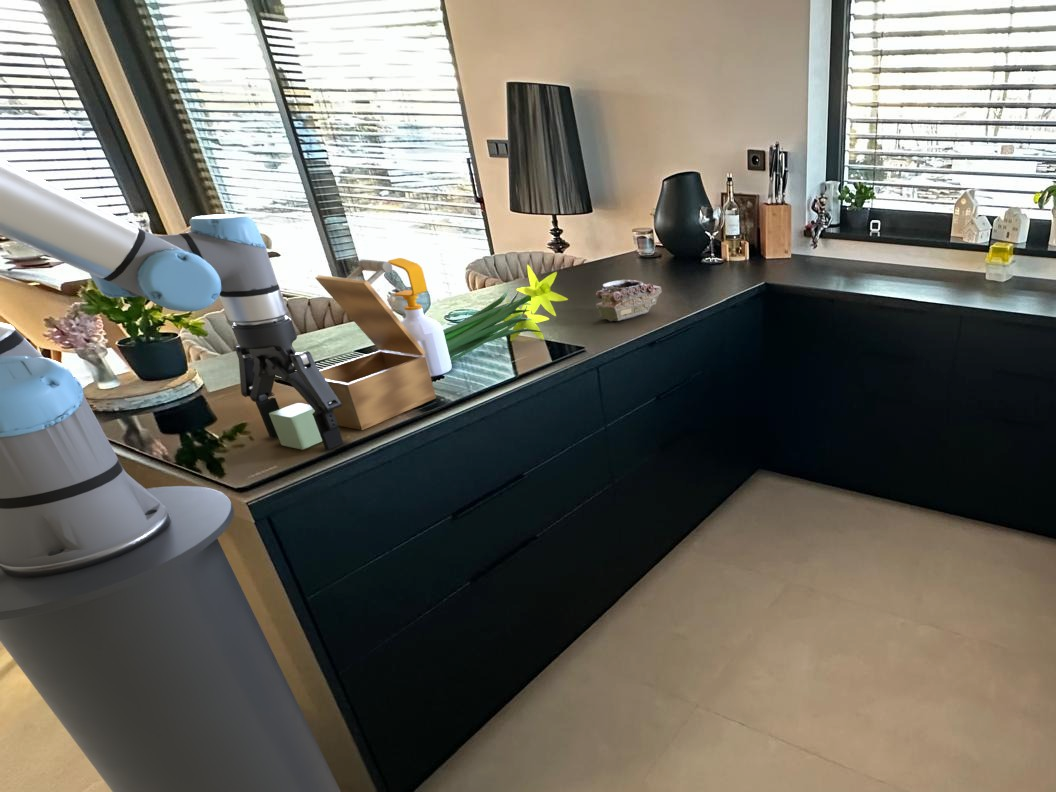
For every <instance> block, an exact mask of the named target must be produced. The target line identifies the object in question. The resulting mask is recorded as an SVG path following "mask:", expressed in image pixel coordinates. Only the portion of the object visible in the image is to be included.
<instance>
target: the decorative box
mask: <svg viewBox="0 0 1056 792" xmlns="http://www.w3.org/2000/svg"><path fill="white" fill-rule="evenodd" d="M662 293H663V290H662V286H658V285H655V284H653V283H648V284H646V283H644V282H643V281H641V280H638V279H618V280H613V281H608V282H605V283H603V284H602V289H601V290H597V291H595V298H596V299H598V300H601V302H598V303H596V304H595V306H596V309H597V311H598V313H599V316H600V318H601V319H603V320H608V321H609V322H613V321H615V322H619V321H623V320H629V319H632V318H635V317H638V316H641V315H644V314H648V313H649V310H650V309H651V307H652V306H656V304H657V302H658V301H657V300H658V298H659V296H660V294H662Z"/></svg>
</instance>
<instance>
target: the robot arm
mask: <svg viewBox="0 0 1056 792" xmlns="http://www.w3.org/2000/svg"><path fill="white" fill-rule="evenodd" d="M189 226H190V228H189V230H190V231H187V232H185V231H184V232H182V233H173V234H160V235H155V234H153V233H150V232H148V231H146V230H144V229H141V228H140V227H138V226H136V225H134V224H133V223H131V222H128V220H125V219H123V218H121V217H119V216H117V215H114V214H113V213H111V212H109V211H106V210H105V209H103V208H100V207H99V206H97V205H94V204H92V203H90V202H88V201H87V200H85V199H82V198H80V197H79V196H76V195H75V194H72V193H70V192H68V191H67V190H65V189H63V188H60V187H59V186H57V185H55V184H52V183H51V182H48V181H46V180H44V179H43V178H40V177H39V176H36V175H34V174H33V173H30V172H29V171H26V170H25V169H22V168H20V167H18V166H16V165H14V164H12V163H11V162H8V161H7V160H4V159H2V158H0V236H1V237H3V238H6V239H8V240H10V241H12V242H15V243H17V244H19V245H22V246H24V247H26V248H29V249H32V250H34V251H36V252H39V253H41V254H43V255H46V256H48V257H49V258H50V257H51V258H52V259H55V260H58V261H60V262H62V263H64V264H67V265H69V266H71V267H74V268H76V269H78V270H81V271H83V272H85V273H88V274H89V276H90V278H91V280H92V281H93V283H94V285H95V286H96V288H97V289H98V290H99V291H100V293H101V294H102V295H104V296H105V297H108V298H112V299H115V298H129V297H130V298H137V297H138V296H139V297H143V298H144V299H148V300H149V302H151V303H153V304H155V305H157V306H160V307H162V308H164V309H166V310H171V311H177V312H185V313H187V312H197V311H202V310H205V309H207V308H208V307H210V306H211V305H213V304H214V303H215V302H216V301H217V300H218V299H219V300H220V303H221V306H222V308H223V310H224V312H225V315H226V318H227V320H228V321H230V322H232V325H231V326H230V327H231V330H232V332H233V335H234V337H235V339H236V342H237V344H238V345H237V346H235V347H234V350H235V353H236V356H237V358H238V366H239V367H238V368H239V369H238V370H239V380H240V383H239V384H240V393H241V395H242V396H243V397H244V398H250V400H251V401H252V402H253V403H255V404H256V407H257V409H258V412H259V414H260V416H261V419H262V422H263V424H264V426H265V429H266V431H267V434H268V436H269V438H270V439H272V438H273V439H274V438H277V437H278V435H277V433H276V430H275V428H274V425H273V423H272V420H271V418H270V415H269V413H271V412H274V411H277V410H279V409H280V406H279V404H278V401H277V398H276V397H273V396H275V395H276V394H275V393H273V392H272V391H273V387H274V383H275V379H276V377H278V378H281V380H283V382H286V383H289V384H290V386H292V387H293V388H294V389H295V391H297V393H298V394H299V395H300V396H301V397H302V398H303V399H304V401H305V402H306V404H308V405H310V406H311V407H312V408H313V409H314V410H315V412H314V413H313V414H312V415H313V417H314V419H315V422H316V425H317V428H318V430H319V433H320V436H321V438H322V444H323V446H324V449H325V450H327V451H330V450H332V449H334V448H337V447H338V446H340V445H343V444H344V440H343V437H342V435H341V431H340V429H339V426H338V424H337V421H336V418H335V415H334V412H333V410H334V409H336V408H339V407H341V406H342V404H341V402H340V401H339V399H338V398H337V396H336V395H335V393H334V392H333V390H332V389H331V387H330V386H329V384H328V383H327V381H326V380H325V378H324V377H323V375H322V374H321V372H320V371H319V370H320V369H319V368H318V366H317V365H316V362H315V360H314V358H313V355H312V353H311V352H310V351H308V350H306V351H302V352H296V350H295V348H294V347H293V343H294V342H295V341H296V340H297V339H298V334H297V331H296V329H295V326H294V323H293V320H292V318H291V317H289V316H288V313H289V310H288V307H287V305H286V302H285V300H284V295H283V293H282V291H281V289H280V285H279V283H278V279H277V278H276V274H275V271H274V268H273V265H272V262H271V259H270V256H269V252H268V249H267V245H266V244H265V242H264V239H263V238H262V234H261V232H260V230H259V228H258V225H257V223H256V222H255V221H254V220H253V219H252V218H251V217H250V216H247V215H244V214H233V213H224V214H223V213H222V214H220V213H219V214H207V215H197V216H193V217H191V218H190V219H189ZM331 401H332V402H331ZM319 405H320V406H319ZM146 489H147V488H145V487H144V486H143V485H141V484H140V483H139V482H137V481H136V480H135V479H134V478H133V477H131V476H130V475H129V474H128V473H127V472H126V471H125V468H124V467H123V465H122V464H121V462H120V460H119V457H118V456H117V454H116V452H115V450H114V448H113V446H112V445H111V443H110V440H109V439H108V437H107V436H106V433H105V431H104V429H103V428H102V426H101V424H100V422H99V421H98V419H97V417H96V415H95V413H94V411H93V409H92V408H91V405H90V403H89V402H88V400H87V398H86V396H85V395H84V387H83V386H82V384H81V381H79V379H78V378H77V377H76V376H74V375H73V373H72V372H71V370H70V369H69V368H68V367H67V366H65V364H63V363H62V362H59V361H57V360H54V359H51V358H48V357H44V355H42V354H41V353H40V351H38V350H37V349H36V348H35V347H34V346H33V345H32V344H31V343H30V342H29V340H27V339H26V338H25V337H24V336H23V335H22V334H21V333H20V332H19V331H18V330H17V329H16V328H15V327H14V326H13V325H11V324H9V323H4V322H0V568H1V569H2V571H3V572H4V573H5V574H8V575H11V576H15V577H43V576H51V575H57V574H63V573H68V572H72V571H76V570H80V569H84V568H88V567H91V566H94V565H98V564H101V563H104V562H106V561H109V560H112V559H115V558H117V557H120V556H122V555H124V554H127V553H129V552H131V551H133V550H135V549H137V548H139V547H141V546H143V545H145V544H146V543H148V542H150V541H151V540H153V539H154V538H156V537H157V536H158V535H160V534H161V533H162V532H163V531H164V530H165V529H166V528H167V527H168V525H169V523H170V520H171V518H170V515H169V514H168V512H167V510H166V508H165V506H164V505H163V504H162V503H161V502H160V501H159V500H158V499H157V498H156V497H154V496H153V495H152V494H151V493H150V492H148V491H147V490H146Z"/></svg>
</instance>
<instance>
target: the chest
mask: <svg viewBox="0 0 1056 792" xmlns="http://www.w3.org/2000/svg"><path fill="white" fill-rule="evenodd" d="M319 371H320V372H321V374H322V375H323V377H324V378H325V380H326V381H327V383H328V384H329V386H330V387H331V389H332V390H333V392H334V393H335V395H336V396H337V398H338V399H339V401H340V402H341V404H342V406H341V407H339V408H336V409H334V410H333V412H334V415H335V418H336V421H337V424H338V427H344V428H348V429H353V430H359V431H364V430H366V429H368V428H371V427H373V426H376V425H378V424H380V423H382V422H385V421H387V420H389V419H391V418H392V419H393V418H394V417H396V416H398V415H401V414H403V413H405V412H408V411H410V410H412V409H414V408H417V407H419V406H422V405H424V404H426V403H428V402H430V401H433V400H435V399H437V396H436V392H435V388H434V384H433V379H432V377H431V376H430V372H429V369H428V365H427V361H426V357H423V356H416V355H410V354H403V353H400V352H395V351H388V350H382V349H378V350H377V351H373V352H371V353H367V354H364V355H361V356H358V357H355V358H352V359H348V360H346V361H343V362H339V363H336V364H333V365H330V366H326V367H324V368H321V369H319ZM331 402H332V401H331ZM319 406H320V405H319Z"/></svg>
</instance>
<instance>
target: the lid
mask: <svg viewBox="0 0 1056 792" xmlns="http://www.w3.org/2000/svg"><path fill="white" fill-rule="evenodd" d="M357 266H358V267H356V268H355V269H354V270H353V271H352V272H351V273H350V274H349V275H348V276H347V277H341V276H339V277H338V276H331V275H321V274H318V275H316V277H314V278H315V280H316V281H317V282H318V283H319V284H320V285H321V287H323V288H324V290H325V291H326V292H327V293H328V294H329V296H331V298H332V299H333V300H334V301H335V302H336V303H337V304H338V306H339V307H340V308H341V309H342V310H343V311H344V313H346V314H347V316H348V317H349V318H350V319H351V320H352V321H353V323H354V324H355V325H356V326H357V327H358V328H359V329H360V330H361V331H362V332H363V333H364V335H365V336H366V337H367V338H368V339H369V340H370V341H371V343H372V344H373V345H374V346H375V347H376V348H377V349H378V350H383V351H390V352H397V353H400V352H402V353H408V354H415V355H422V356H424V355H425V354H426V352H425V351H424V350H423V349H422V347H421V346H420V345H419V344H418V342H417V341H416V340H415V339H414V338H413V336H412V335H411V334H410V333H409V331H408V330H407V329H406V328H405V327H404V325H403V324H402V323H401V320H400V319H399V318H398V316H397V315H396V314H395V313H394V312H393V310H392V309H391V308H390V307H389V305H388V304H387V303H386V302H385V301H384V299H383V298H382V297H381V296H380V294H379V293H378V292H377V290H375V289H374V287H373V286H372V285H373V283H374V282H376V280H378V279H379V278H380V277H381V276H382V275H383V274H384V273H386V274H390V273H392V271H393V265H391V264H390V263H389V262H388V261H384V260H375V259H365V258H364V259H363V258H360V259H359V260H358V262H357ZM364 271H367V272H374V273H373V274H372V275H371V276H370V277H369V278H367V279H366V280H365V279H357V277H358V276H359V275H360V274H361V273H362V272H364Z"/></svg>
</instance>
